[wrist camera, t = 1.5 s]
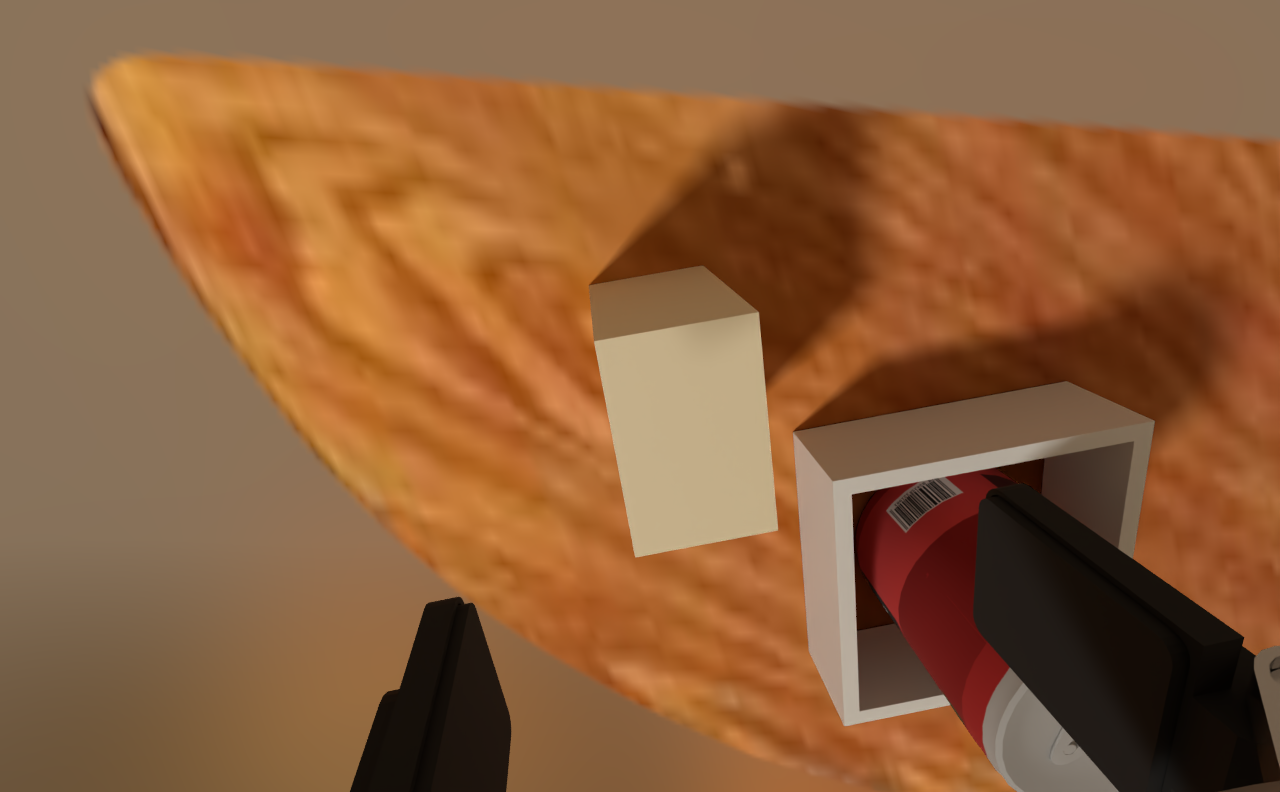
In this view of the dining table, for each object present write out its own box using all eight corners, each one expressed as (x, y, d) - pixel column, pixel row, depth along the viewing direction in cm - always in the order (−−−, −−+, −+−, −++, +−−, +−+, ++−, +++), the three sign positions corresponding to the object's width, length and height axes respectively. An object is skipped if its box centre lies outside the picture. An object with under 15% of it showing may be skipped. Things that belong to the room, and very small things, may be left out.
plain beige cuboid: (703, 265, 24) (758, 312, 17) (721, 427, 27) (777, 530, 19) (588, 285, 24) (594, 341, 17) (618, 446, 27) (635, 557, 19)
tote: (1066, 381, 28) (1155, 420, 23) (1043, 604, 32) (1114, 671, 28) (792, 431, 27) (832, 481, 23) (808, 651, 32) (844, 726, 27)
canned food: (829, 587, 30) (959, 804, 20) (880, 438, 28) (1059, 602, 17) (970, 600, 32) (1161, 813, 21) (1032, 459, 29) (1283, 624, 19)
